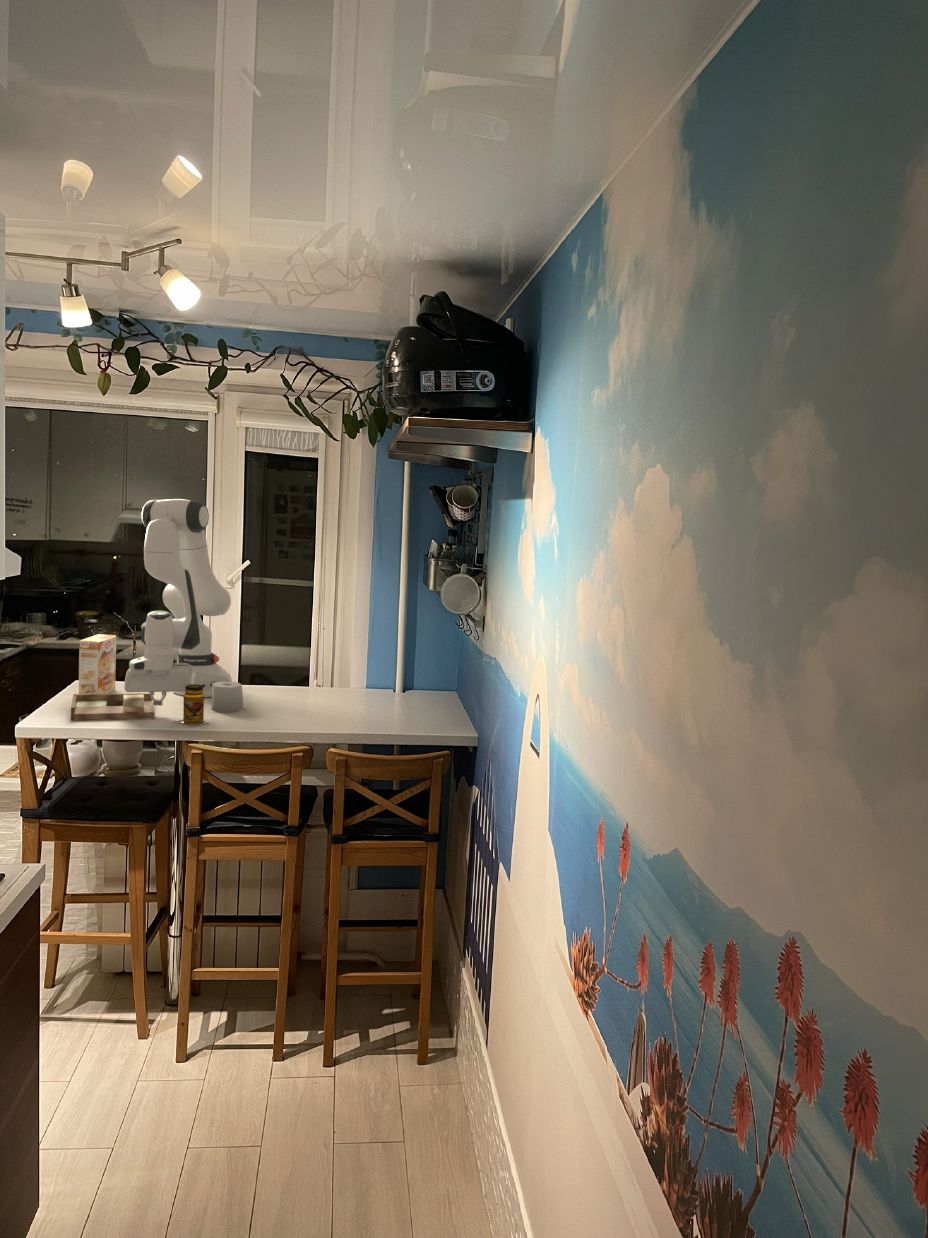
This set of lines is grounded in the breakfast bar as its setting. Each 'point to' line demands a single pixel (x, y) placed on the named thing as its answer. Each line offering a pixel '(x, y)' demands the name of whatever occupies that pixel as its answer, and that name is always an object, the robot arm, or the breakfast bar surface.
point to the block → (133, 703)
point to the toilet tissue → (227, 697)
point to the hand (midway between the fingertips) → (157, 705)
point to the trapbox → (107, 707)
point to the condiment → (193, 706)
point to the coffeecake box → (97, 664)
